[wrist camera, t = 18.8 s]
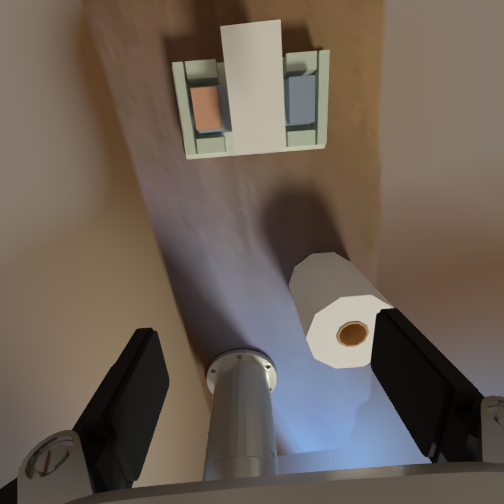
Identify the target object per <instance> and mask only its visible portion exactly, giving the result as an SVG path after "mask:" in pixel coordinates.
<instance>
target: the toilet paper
mask: <svg viewBox="0 0 504 504" xmlns="http://www.w3.org/2000/svg"><path fill="white" fill-rule="evenodd" d="M289 288H290V291H291V294H292V297H293V300H294V303H295V307H296V310H297V313H298V316H299V319H300V322H301V325H302V328H303V331H304V334H305V337H306V340H307V342H308V344H309V347H310V349H311V352H312V354H313V356H314V358H315V359H317V360H319V361H321V362H323V363H325V364H327V365H329V366H331V367H334V368H336V369H339V368H351V367H363V366H365V365H366V364H368V363H370V361H371V353H372V344H373V336H374V328H375V320H376V314H377V313H380V310H381V309H388V308H394V307H393V306H392V305H391V304H390V303H389V302H388V301H387V300H386V299H385V298H384V297H383V296H382V295H381V294H380V293H379V292H378V291H377V289H376V288H375V287H374V286H373V285H372V284H371V283H370V282H369V281H368V280H367V279H366V278H365V277H364V276H363V275H362V274H361V273H360V272H359V270H358V269H357V268H356V267H355V266H354V265H353V264H352V263H351V262H350V261H348V260H346V259H345V258H343V257H341V256H340V255H338V254H336V253H335V252H326V253H314V254H311V255H310V256H308V257H307V258H306V259H304V260H303V261H302V262H300V263H299V264H298V265H296V266H295V267H294V270H293V273H292V276H291V279H290V282H289Z"/></svg>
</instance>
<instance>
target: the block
mask: <svg viewBox="0 0 504 504" xmlns="http://www.w3.org/2000/svg"><path fill="white" fill-rule="evenodd" d="M220 30H221V38H222V47H223V55H224V64H225V73H226V81H227V90H228V98H229V107H230V116H231V124H232V133H233V141H234V150H235V156H236V155H246V154H255V153H264V152H274V151H283V150H286V130H285V107H284V85H283V62H282V39H281V19H280V20H271V21H262V22H253V23H244V24H235V25H226V26H220Z"/></svg>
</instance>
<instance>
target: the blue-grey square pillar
mask: <svg viewBox="0 0 504 504" xmlns="http://www.w3.org/2000/svg"><path fill="white" fill-rule="evenodd" d="M283 85H284V107H285V128H286V127H297V126H305V125H308V124H310V123H313V122H315V75H309V76H297V77H289V78H288V80H286V81H283ZM190 90H191V97H192V103H193V110H194V117H195V124H196V130H198V131H199V133H201V134H203V135H205V134H217V133H228V132H232V124H231V116H230V107H229V98H228V90H227V86H218V87H216V86H212V87H200V88H190Z"/></svg>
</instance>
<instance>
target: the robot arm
mask: <svg viewBox="0 0 504 504" xmlns="http://www.w3.org/2000/svg"><path fill="white" fill-rule="evenodd" d="M370 363H371V368H372V370H373V372H374V374H375V375H376V377H377V379H378V381H379V382H380V384H381V386H382V387H383V389H384V391H385V392H386V394H387V396H388V397H389V399H390V401H391V402H392V404H393V406H394V407H395V409H396V411H397V413H398V414H399V416H400V417H401V419H402V421H403V423H404V424H405V426H406V428H407V429H408V431H409V433H410V434H411V436H412V438H413V439H414V441H415V443H416V444H417V446H418V448H419V449H420V451H421V453H422V454H423V455H424V456H425V457H429V459H430V460H431V462H432V463H430V464H411V465H398V466H385V467H371V468H358V469H344V470H332V471H319V472H306V473H294V474H282V475H279V470H278V461H277V451H276V442H275V433H274V423H273V414H272V405H271V395H270V394H271V393H272V392H273V390H274V388H275V387H276V384H277V371H276V368H275V366H274V364H273V362H272V361H271V360H270V359H269V358H268V357H266V356H265V355H264V354H261V353H259V352H257V351H253V350H247V349H237V350H232V351H228V352H226V353H223V354H221V355H220V356H218V357H217V358H216V359H214V360H213V362H212V363H211V364H210V366H209V368H208V372H207V379H206V381H207V386H208V388H209V390H210V391H211V393H212V394H213V400H212V408H211V416H210V424H209V432H208V439H207V448H206V455H205V463H204V471H203V479H202V481H199V482H187V483H176V484H166V485H156V486H147V487H138V488H132V485H133V482H134V481H136V480H138V478H139V476H140V474H141V470H142V467H143V464H144V462H145V458H146V455H147V452H148V449H149V446H150V443H151V440H152V437H153V433H154V431H155V427H156V425H157V421H158V418H159V415H160V412H161V409H162V406H163V403H164V400H165V397H166V394H167V391H168V387H169V376H168V371H167V368H166V364H165V360H164V356H163V352H162V348H161V344H160V340H159V337H158V333H157V331H153V329H152V328H140V329H136V331H135V332H134V334H133V336H132V337H131V339H130V340H129V342H128V344H127V345H126V347H125V349H124V350H123V352H122V353H121V355H120V357H119V358H118V360H117V361H116V363H115V364H114V365H113V366H112V367H111V368H110V370H109V372H108V373H107V375H106V376H105V378H104V379H103V381H102V383H101V384H100V386H99V387H98V389H97V391H96V392H95V394H94V395H93V397H92V398H91V400H90V402H89V403H88V405H87V407H86V408H85V410H84V411H83V413H82V415H81V416H80V418H79V419H78V421H77V422H76V424H75V426H74V428H73V429H72V430H64V431H60V432H57V433H55V434H53V435H51V436H49V437H47V438H46V439H44V440H43V441H41V442H40V443H39V444H38V445H36V446H35V447H34V448H33V449H32V450H31V451H30V452H29V454H28V455H27V456H26V458H25V459H24V460H23V462H22V464H21V466H20V468H19V471H18V476H17V478H16V479H14V480H13V481H11V482H10V483H8V484H7V485H5V486H4V487H3V488H1V489H0V504H504V397H501V396H488V397H484V396H483V395H482V394H481V393H480V392H479V391H478V389H477V388H476V387H475V386H474V385H473V384H472V383H471V382H470V381H469V380H468V379H467V378H466V377H465V376H464V375H463V374H462V373H461V372H460V371H459V370H458V369H457V368H456V367H455V366H454V365H453V364H452V363H451V362H450V361H449V360H448V359H447V358H446V357H445V356H444V355H443V354H442V353H441V352H440V351H439V350H438V349H437V348H436V347H435V346H434V345H433V344H432V343H431V342H430V341H429V340H428V339H427V338H426V337H425V336H424V335H423V334H422V333H421V332H420V331H419V330H418V329H417V328H416V327H415V326H414V325H413V324H412V323H411V322H410V321H409V320H408V319H407V318H406V317H405V316H404V315H403V314H402V313H401V312H400V311H399V310H398V309H397V308H388V309H381V310H380V313H377V314H376V320H375V328H374V336H373V344H372V353H371V361H370Z"/></svg>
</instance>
